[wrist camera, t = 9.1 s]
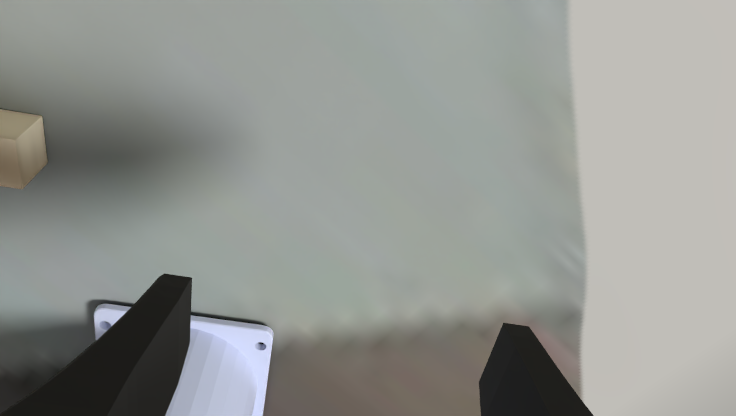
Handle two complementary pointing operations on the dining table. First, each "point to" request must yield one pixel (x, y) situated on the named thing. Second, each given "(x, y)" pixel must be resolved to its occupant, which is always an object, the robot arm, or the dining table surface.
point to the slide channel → (21, 148)
